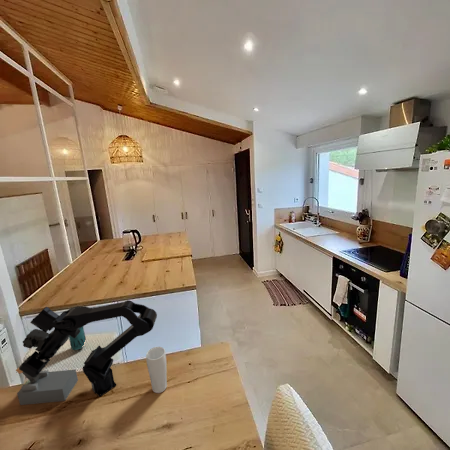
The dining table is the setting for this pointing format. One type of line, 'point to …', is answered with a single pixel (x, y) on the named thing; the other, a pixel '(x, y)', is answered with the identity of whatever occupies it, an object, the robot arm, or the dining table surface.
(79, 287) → the dining table surface
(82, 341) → the beverage bottle
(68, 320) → the robot arm
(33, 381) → the lever
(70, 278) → the dining table surface
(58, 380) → the base
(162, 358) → the drinking glass
